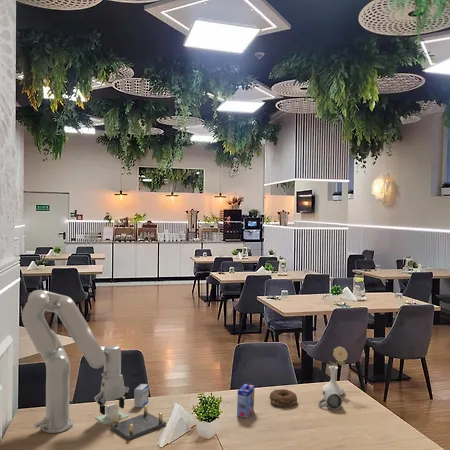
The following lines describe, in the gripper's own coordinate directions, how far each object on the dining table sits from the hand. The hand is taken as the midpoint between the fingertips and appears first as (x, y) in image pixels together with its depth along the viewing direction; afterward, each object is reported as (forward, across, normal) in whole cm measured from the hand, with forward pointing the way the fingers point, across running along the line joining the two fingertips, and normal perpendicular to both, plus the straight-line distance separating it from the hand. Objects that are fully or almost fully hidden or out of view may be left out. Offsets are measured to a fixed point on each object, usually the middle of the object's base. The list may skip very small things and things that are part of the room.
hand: (112, 410), depth 200 cm
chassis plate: (+3, +3, -17) cm, 18 cm away
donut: (+4, +70, -44) cm, 83 cm away
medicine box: (+3, +18, +3) cm, 19 cm away
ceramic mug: (+3, +82, -63) cm, 104 cm away
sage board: (+4, 0, 0) cm, 4 cm away
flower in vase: (+3, +99, -56) cm, 114 cm away
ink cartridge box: (+3, +47, -40) cm, 62 cm away
